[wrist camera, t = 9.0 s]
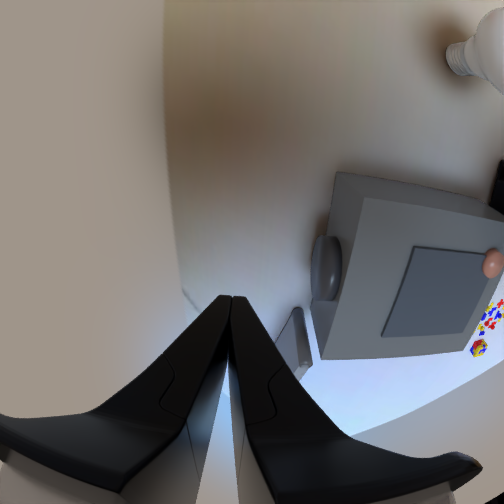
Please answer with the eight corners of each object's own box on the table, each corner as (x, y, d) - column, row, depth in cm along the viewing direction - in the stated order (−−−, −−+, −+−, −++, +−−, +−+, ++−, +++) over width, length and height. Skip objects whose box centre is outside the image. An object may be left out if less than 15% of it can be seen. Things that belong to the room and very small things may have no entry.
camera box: (477, 198, 20) (526, 231, 14) (436, 311, 26) (466, 357, 20) (323, 169, 20) (350, 199, 14) (298, 309, 26) (308, 368, 20)
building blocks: (510, 295, 26) (517, 303, 24) (487, 343, 30) (493, 351, 28) (477, 301, 26) (484, 310, 25) (454, 352, 30) (459, 361, 28)
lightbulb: (437, 104, 17) (546, 124, 7) (409, 26, 15) (509, -4, 5) (489, 92, 16) (588, 111, 6) (466, 22, 13) (562, 9, 4)
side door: (252, 395, 31) (251, 440, 26) (240, 392, 31) (238, 437, 26) (305, 309, 25) (315, 361, 20) (290, 305, 25) (297, 357, 20)
